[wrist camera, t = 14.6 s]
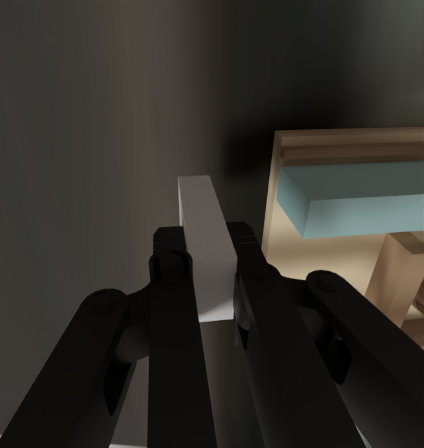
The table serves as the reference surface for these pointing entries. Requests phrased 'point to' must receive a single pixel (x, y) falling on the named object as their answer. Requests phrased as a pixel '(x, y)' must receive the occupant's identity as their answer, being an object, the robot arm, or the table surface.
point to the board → (358, 244)
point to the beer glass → (419, 299)
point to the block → (353, 198)
